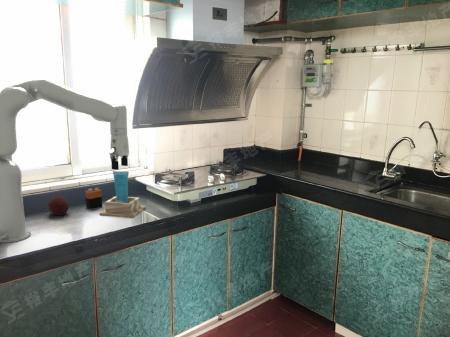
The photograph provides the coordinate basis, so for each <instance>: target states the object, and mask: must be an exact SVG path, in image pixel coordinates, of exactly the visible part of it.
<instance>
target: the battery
mask: <svg viewBox="0 0 450 337" xmlns="http://www.w3.org/2000/svg"><path fill="white" fill-rule="evenodd" d="M84 192H85V194H84V195H85V196H84V197H85V205H86V206H85V207H86V209H88V210H90V211H91V210H95V209H99V208H103V194H102V189H100V188H99V187H95V188H87V190H85V191H84Z"/></svg>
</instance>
